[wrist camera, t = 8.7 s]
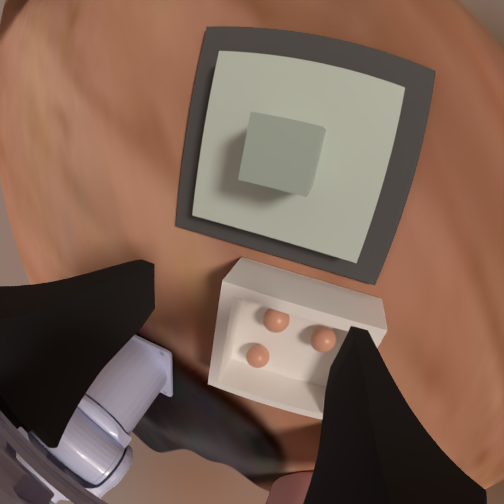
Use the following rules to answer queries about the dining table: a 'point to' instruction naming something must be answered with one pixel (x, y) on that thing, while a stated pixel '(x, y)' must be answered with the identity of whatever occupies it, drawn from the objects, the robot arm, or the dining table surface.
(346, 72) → the lid
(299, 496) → the cake
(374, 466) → the robot arm
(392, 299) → the dining table surface
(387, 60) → the mat
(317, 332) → the shallow white tray
